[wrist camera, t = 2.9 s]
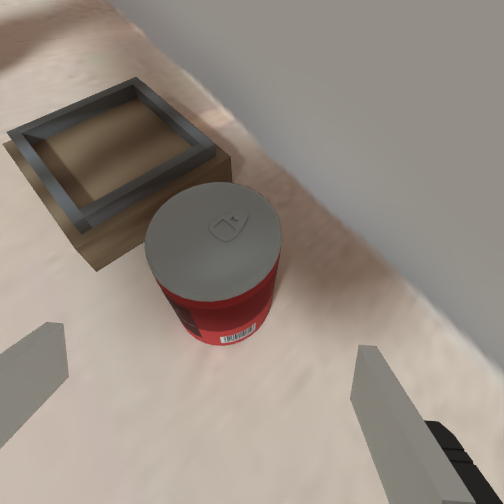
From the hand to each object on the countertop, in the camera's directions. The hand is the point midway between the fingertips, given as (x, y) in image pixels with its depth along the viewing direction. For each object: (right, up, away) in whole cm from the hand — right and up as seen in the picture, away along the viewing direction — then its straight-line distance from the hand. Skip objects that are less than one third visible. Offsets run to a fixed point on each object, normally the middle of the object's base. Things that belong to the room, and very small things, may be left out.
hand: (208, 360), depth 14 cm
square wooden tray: (-12, +13, +20) cm, 27 cm away
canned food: (0, 0, +13) cm, 13 cm away
